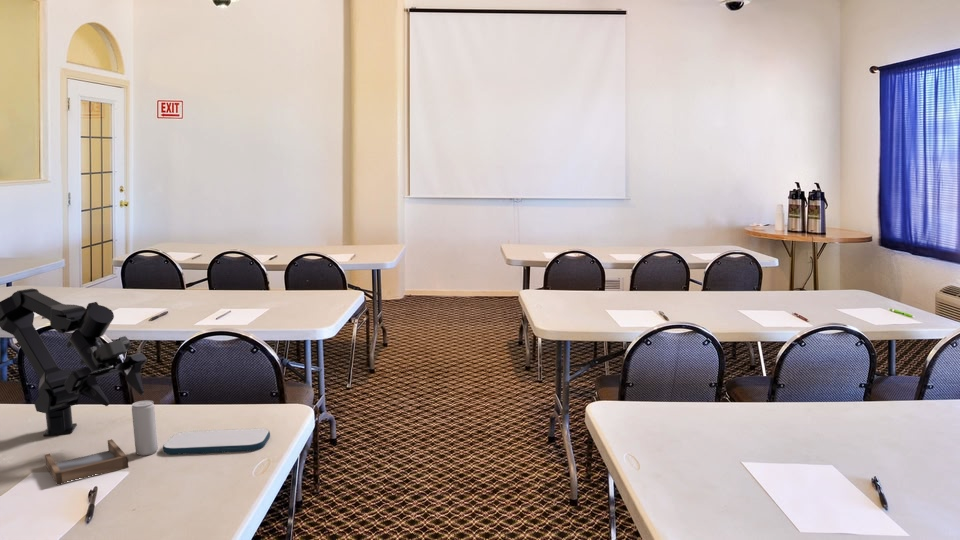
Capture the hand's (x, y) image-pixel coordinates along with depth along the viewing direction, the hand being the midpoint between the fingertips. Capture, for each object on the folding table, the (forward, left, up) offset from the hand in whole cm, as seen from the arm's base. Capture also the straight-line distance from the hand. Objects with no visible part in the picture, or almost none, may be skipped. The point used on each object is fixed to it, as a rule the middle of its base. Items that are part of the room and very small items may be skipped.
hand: (125, 399), depth 172 cm
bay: (+8, -8, -12) cm, 17 cm away
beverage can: (+4, +4, -12) cm, 14 cm away
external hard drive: (+5, +20, -13) cm, 24 cm away
